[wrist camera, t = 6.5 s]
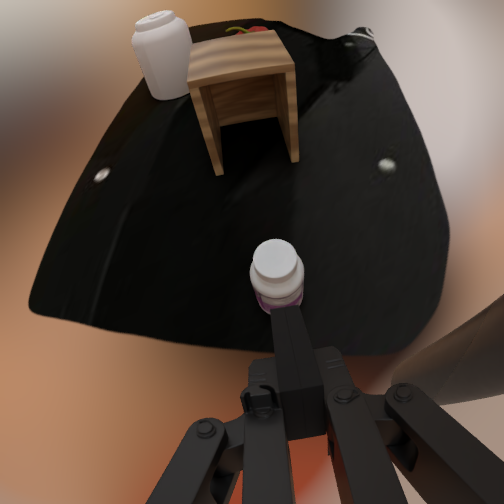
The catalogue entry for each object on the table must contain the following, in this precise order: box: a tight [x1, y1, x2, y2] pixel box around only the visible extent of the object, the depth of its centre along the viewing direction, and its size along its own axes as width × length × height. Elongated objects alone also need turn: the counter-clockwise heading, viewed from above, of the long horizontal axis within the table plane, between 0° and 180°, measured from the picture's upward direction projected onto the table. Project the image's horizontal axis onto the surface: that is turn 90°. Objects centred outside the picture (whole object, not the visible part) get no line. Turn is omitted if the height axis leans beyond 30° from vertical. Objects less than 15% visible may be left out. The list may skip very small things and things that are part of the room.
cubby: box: [187, 30, 299, 176], centre depth 43 cm, size 14×13×17 cm
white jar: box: [132, 10, 192, 100], centre depth 56 cm, size 12×12×20 cm
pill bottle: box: [250, 239, 304, 314], centre depth 32 cm, size 5×5×10 cm
